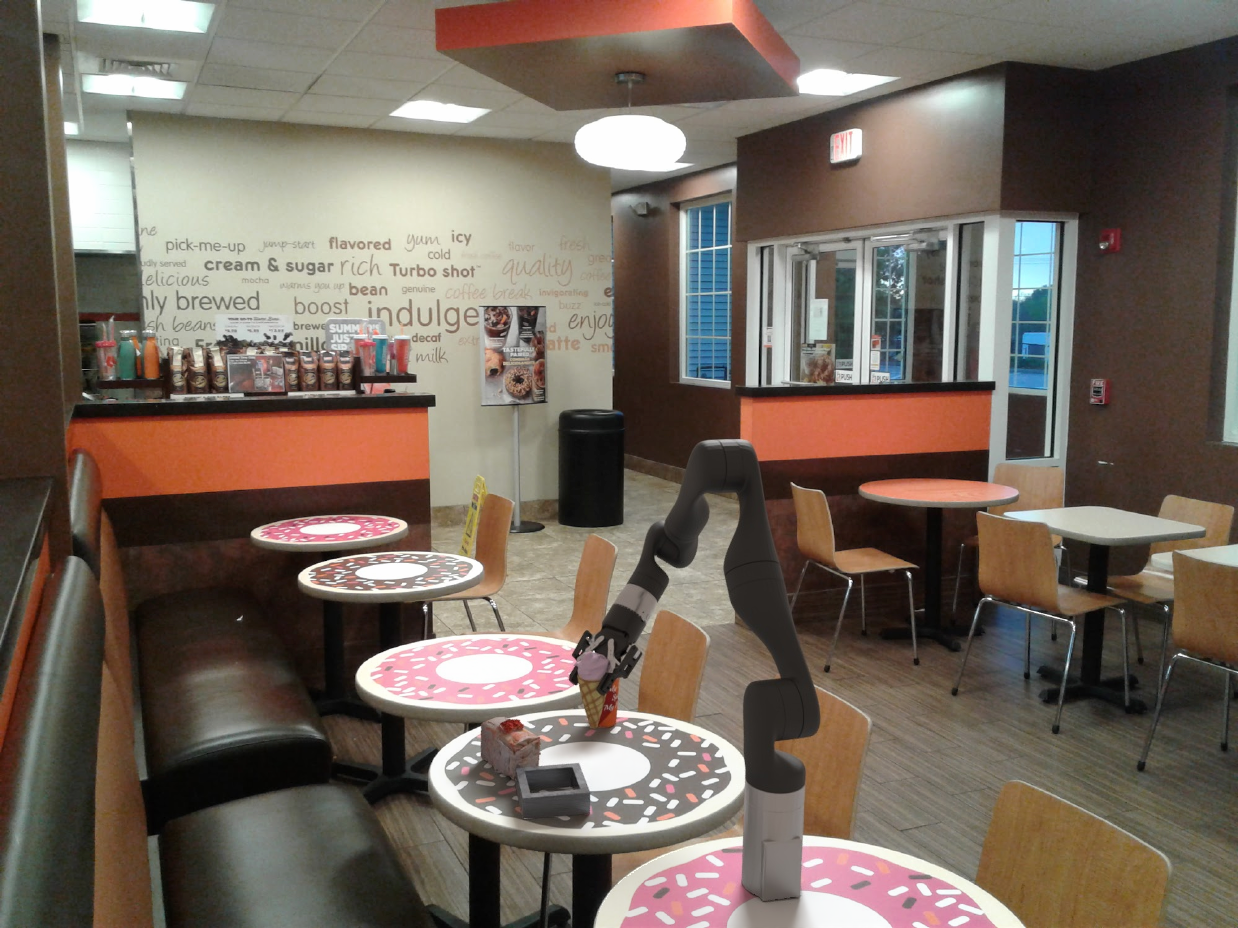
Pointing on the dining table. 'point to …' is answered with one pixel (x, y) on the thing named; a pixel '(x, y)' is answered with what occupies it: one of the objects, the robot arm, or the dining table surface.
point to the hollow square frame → (552, 801)
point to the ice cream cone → (592, 684)
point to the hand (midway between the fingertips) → (586, 687)
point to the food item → (508, 745)
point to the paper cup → (610, 707)
